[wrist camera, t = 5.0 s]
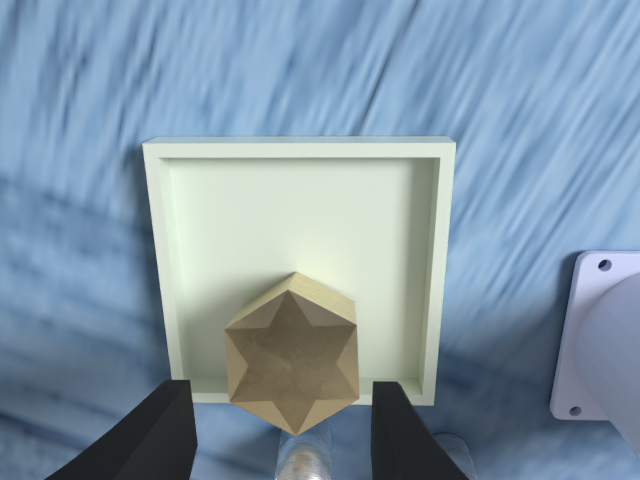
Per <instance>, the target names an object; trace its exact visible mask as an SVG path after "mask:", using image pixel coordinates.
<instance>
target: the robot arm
mask: <svg viewBox="0 0 640 480" xmlns="http://www.w3.org/2000/svg"><path fill="white" fill-rule="evenodd" d="M606 259H607V263H606V265H605V266H603V267H601V268H598V265H599V263H600V262H601V261H602V260H606ZM576 406H577V408H576V409H575V410H571V411H570V409H571V408H573V407H576ZM550 411H551V412H552V414H553V416H554V417H555V418H557V419H560V420H610V421H611V423H612V424H613V425H614V427H615V428H616V429H617V430H618V432H619V433H620V434H621V436H622V437H623V438H624V440H625V441H626V442H627V444H628V445H629V446H630V448H631V449H632V450H633V452H634V453H635V454H636V456H637V457H638V458H639V460H640V251H585V252H583V253H582V254H580V255H579V256H578V257H577V260H576V262H575V268H574V273H573V279H572V284H571V290H570V296H569V301H568V307H567V312H566V318H565V323H564V329H563V335H562V340H561V346H560V351H559V357H558V362H557V368H556V373H555V379H554V385H553V390H552V396H551V401H550ZM197 445H198V444H197V435H196V427H195V418H194V409H193V401H192V392H191V383H190V380H166V381H164V382H163V383H162V384H161V385H160V386H159V387H158V388H156V389H155V390H154V391H153V392H152V393H151V394H150V395H149V396H148V397H147V398H145V399H144V400H143V401H142V402H141V403H140V404H139V405H138V406H137V407H136V408H134V409H133V410H132V411H131V412H130V413H129V414H128V415H127V416H125V417H124V418H123V419H122V420H121V421H120V422H119V423H117V424H116V425H115V426H114V427H113V428H112V429H111V430H109V431H108V432H107V433H106V434H104V435H103V436H102V437H101V438H99V439H98V440H97V441H96V442H94V443H93V444H92V445H91V446H89V447H88V448H87V449H86V450H84V451H83V452H82V453H81V454H80V455H78V456H77V457H76V458H74V459H73V460H72V461H70V462H69V463H68V464H66V465H65V466H63V467H62V468H61V469H59V470H58V471H56V472H55V473H53V474H52V475H50V476H49V477H47V478H46V479H44V480H189V478H190V475H191V471H192V467H193V462H194V458H195V454H196V450H197ZM371 459H372V474H373V480H470V479H469V478H468V477H467V476H466V475H465V474H464V473H463V472H462V471H461V469H460V468H459V467H458V466H457V465H456V464H455V462H454V461H453V460H452V459H451V458H450V456H449V455H448V454H447V453H446V452H445V450H444V449H443V448H442V447H441V445H440V444H439V443H438V441H437V440H436V439H435V437H434V436H433V435H432V433H431V432H430V430H429V429H428V428H427V426H426V425H425V424H424V422H423V421H422V419H421V418H420V416H419V415H418V413H417V412H416V410H415V408H414V407H413V405H412V404H411V402H410V400H409V399H408V397H407V395H406V393H405V392H404V390H403V388H402V386H401V385H400V384H399V383H398V382H397V381H373V390H372V422H371Z"/></svg>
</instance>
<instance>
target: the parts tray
mask: <svg viewBox="0 0 640 480" xmlns="http://www.w3.org/2000/svg"><path fill="white" fill-rule="evenodd" d="M142 145H143V153H144V161H145V169H146V177H147V185H148V193H149V201H150V209H151V217H152V225H153V233H154V241H155V249H156V257H157V265H158V273H159V281H160V289H161V297H162V305H163V313H164V321H165V329H166V337H167V345H168V353H169V361H170V369H171V377H172V380H190V383H191V392H192V401H193V403H230V402H229V390H228V376H227V361H226V347H225V333H224V329H225V328H226V326H227V325H228V324H229V322H230V321H231V320H232V319H233V317H234V316H235V315H236V314H237V312H238V311H239V310H240V309H241V307H242V306H243V305H244V304H246V303H247V302H249V301H251V300H252V299H254V298H255V297H257V296H259V295H260V294H262V293H263V292H265V291H267V290H268V289H270V288H271V287H273V286H275V285H276V284H278V283H279V282H281V281H283V280H284V279H286V278H287V277H289V276H290V275H292V274H294V273H295V272H299V273H301V274H303V275H305V276H307V277H309V278H310V279H312V280H314V281H316V282H318V283H320V284H322V285H324V286H326V287H328V288H330V289H332V290H334V291H336V292H337V293H339V294H341V295H343V296H345V297H347V298H349V299H351V300H353V301H355V311H356V321H357V342H358V368H359V394H360V399H359V400H357V401H355V402H354V403H352V404H350V405H372V390H373V381H397V382H398V383H399V384H400V385H401V386H402V388H403V390H404V392H405V393H406V395H407V397H408V399H409V400H410V402H411V404H412V405H427V406H434V397H435V385H436V373H437V362H438V350H439V338H440V326H441V315H442V303H443V291H444V280H445V268H446V256H447V244H448V233H449V221H450V209H451V198H452V186H453V174H454V162H455V151H456V143H455V142H454V141H453V140H451V139H450V138H448V137H447V136H251V137H155V138H153V139H151V140H149V141H147V142H145V143H142Z"/></svg>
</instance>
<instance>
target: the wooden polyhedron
mask: <svg viewBox="0 0 640 480" xmlns="http://www.w3.org/2000/svg"><path fill="white" fill-rule="evenodd" d="M224 333H225V347H226V361H227V376H228V390H229V402H230V403H232V404H234V405H236V406H238V407H240V408H242V409H244V410H246V411H248V412H250V413H252V414H253V415H255V416H257V417H259V418H261V419H263V420H265V421H267V422H269V423H271V424H273V425H275V426H277V427H279V428H281V429H283V430H285V431H287V432H289V433H291V434H292V435H294V436H297V435H299V434H301V433H303V432H304V431H306V430H308V429H309V428H311V427H313V426H314V425H316V424H318V423H320V422H321V421H323V420H325V419H326V418H328V417H330V416H331V415H333V414H335V413H337V412H338V411H340V410H342V409H343V408H345V407H347V406H348V405H350V404H352V403H354V402H355V401H357V400H359V399H360V394H359V368H358V342H357V321H356V311H355V301H353V300H351V299H349V298H347V297H345V296H343V295H341V294H339V293H337V292H336V291H334V290H332V289H330V288H328V287H326V286H324V285H322V284H320V283H318V282H316V281H314V280H312V279H310V278H309V277H307V276H305V275H303V274H301V273H299V272H295V273H294V274H292V275H290V276H289V277H287V278H286V279H284V280H283V281H281V282H279V283H278V284H276V285H275V286H273V287H271V288H270V289H268V290H267V291H265V292H263V293H262V294H260V295H259V296H257V297H255V298H254V299H252V300H251V301H249V302H247V303H246V304H244V305H243V306H242V307H241V309H240V310H239V311H238V312H237V314H236V315H235V316H234V317H233V319H232V320H231V321H230V322H229V324H228V325H227V326H226V328H225V329H224Z"/></svg>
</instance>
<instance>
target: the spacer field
mask: <svg viewBox="0 0 640 480" xmlns="http://www.w3.org/2000/svg"><path fill="white" fill-rule="evenodd" d="M433 436H434V437H435V439H436V440H437V441H438V443H439V444H440V445H441V447H442V448H443V449H444V450H445V452H446V453H447V454H448V455H449V456H450V458H451V459H452V460H453V461H454V462H455V464H456V465H457V466H458V467H459V468H460V469H461V471H462V472H463V473H464V474H465V475H466V476H467V477H468V478H469V479H470V480H478V477H477V474H476V471H475V468H474V465H473V462H472V459H471V456H470V453H469V450H468V447H467V445H466V443H465V442H464V441H463V440H462V439H461V438H460V437H458V436H456V435H453V434H449V433H440V434H435V435H433ZM196 456H197V450H196V454H195V458H194V462H195V459H196ZM331 456H332V433H331V429H330V427H329V425H328V424H327V422H325V421H324V420H323V421H321V422H320V423H318V424H316V425H314V426H313V427H311V428H309V429H308V430H306V431H304V432H303V433H301V434H299V435H297V436H294V435H292V434H291V433H289V432H287V431H285V430H283V429H282V430H281V436H280V443H279V450H278V458H277V465H276V472H275V479H274V480H331ZM194 462H193V465H194ZM192 468H193V467H192Z"/></svg>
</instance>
